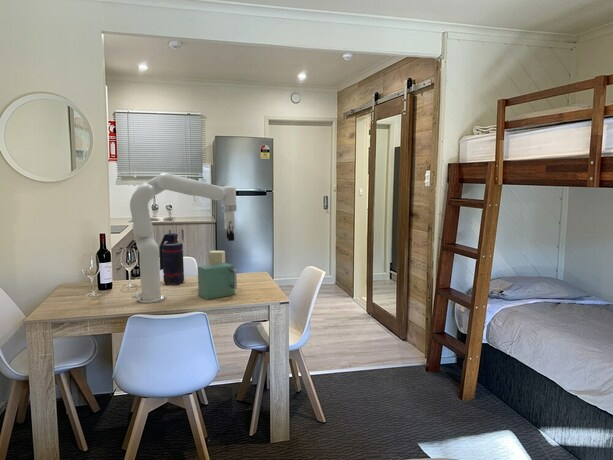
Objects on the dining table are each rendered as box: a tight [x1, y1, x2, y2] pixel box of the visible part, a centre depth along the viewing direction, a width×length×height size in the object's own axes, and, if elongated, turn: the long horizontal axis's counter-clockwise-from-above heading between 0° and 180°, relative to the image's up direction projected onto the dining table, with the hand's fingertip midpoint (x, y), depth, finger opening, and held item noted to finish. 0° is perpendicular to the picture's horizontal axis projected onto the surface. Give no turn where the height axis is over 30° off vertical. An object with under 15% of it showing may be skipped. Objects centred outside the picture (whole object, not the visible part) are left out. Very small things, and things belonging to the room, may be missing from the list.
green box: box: [206, 265, 238, 300], centre depth 233 cm, size 6×16×16 cm, turn 126°
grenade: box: [158, 232, 185, 286], centre depth 267 cm, size 14×12×30 cm
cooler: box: [197, 262, 234, 300], centre depth 239 cm, size 10×16×16 cm, turn 126°
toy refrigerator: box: [207, 250, 226, 265], centre depth 256 cm, size 8×7×21 cm
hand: (230, 239), depth 247 cm, fingers open, 9 cm apart
